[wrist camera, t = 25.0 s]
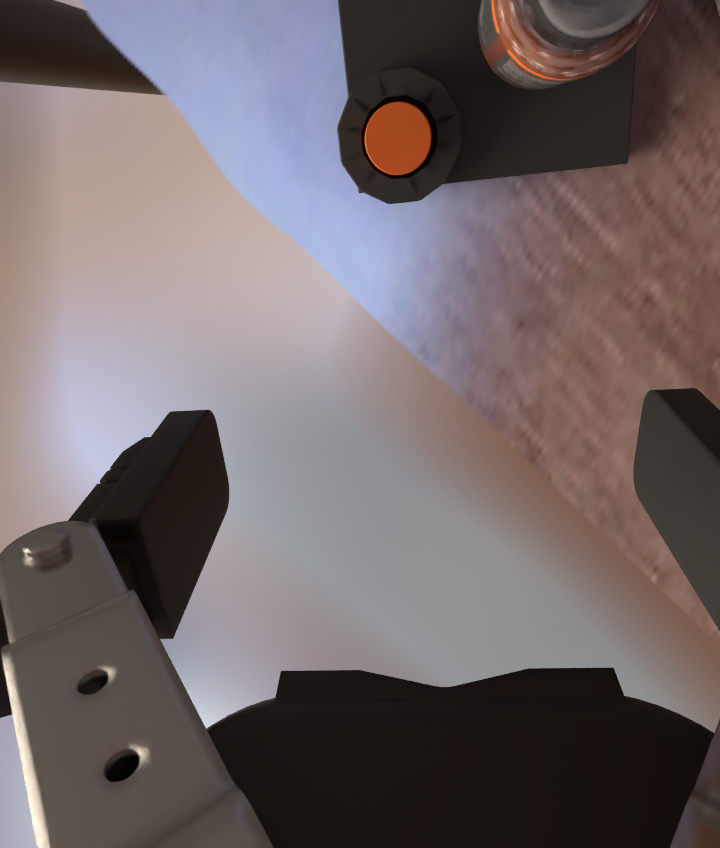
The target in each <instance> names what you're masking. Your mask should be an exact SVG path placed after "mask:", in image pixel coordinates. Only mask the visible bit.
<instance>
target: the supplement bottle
mask: <svg viewBox="0 0 720 848" xmlns="http://www.w3.org/2000/svg"><path fill="white" fill-rule="evenodd" d="M660 1H661V0H481V4H480V9H479V16H478V33H479V40H480V44H481V48H482V51H483V54H484V56H485V58H486V60H487V62H488V64H489V65H490V67H491V68H492V70H493V71H494V72H495V73H496V74H497V75H498V76H499V77H500V78H502V79H503V80H504V81H506V82H508V83H509V84H511V85H513V86H516V87H519V88H523V89H530V90H531V89H532V90H539V89H540V90H542V89H549V88H552V87H555V86H558V85H561V84H564V83H567V82H571V81H574V80H577V79H581V78H584V77H586V76H589V75H591V74H593V73H596V72H598V71H600V70H602V69H604V68H606V67H608V66H609V65H611V64H612V63H614V62H615V61H617V60H618V59H619V58H620V57H622V56H623V55H624V54H625V53H627V52H628V51H629V50H630V49H631V48H632V47H633V46H634V45H635V44H636V42H637V41H638V40H639V39H640V37H641V36H642V34H643V33H644V31H645V30H646V29H647V27H648V26H649V24H650V23H651V21H652V19H653V17H654V16H655V13H656V11H657V9H658V6H659V3H660Z"/></svg>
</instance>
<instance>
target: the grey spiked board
mask: <svg viewBox="0 0 720 848" xmlns="http://www.w3.org/2000/svg"><path fill="white" fill-rule="evenodd" d="M715 2H716V6H717V10H718V13H719V17H720V0H715Z"/></svg>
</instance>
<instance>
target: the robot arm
mask: <svg viewBox="0 0 720 848" xmlns="http://www.w3.org/2000/svg"><path fill="white" fill-rule="evenodd" d="M633 474H634V485H635V490H636V493H637V496H638V498H639V500H640V502H641V503H642V505H643V507H644V508H645V510H646V512H647V513H648V515H649V517H650V518H651V520H652V521H653V523H654V525H655V526H656V528H657V530H658V531H659V533H660V534H661V536H662V538H663V539H664V541H665V543H666V544H667V546H668V548H669V549H670V551H671V552H672V554H673V556H674V557H675V559H676V561H677V562H678V564H679V565H680V567H681V569H682V570H683V572H684V574H685V575H686V577H687V578H688V580H689V582H690V583H691V585H692V587H693V588H694V590H695V592H696V593H697V595H698V596H699V598H700V600H701V601H702V603H703V605H704V606H705V608H706V609H707V611H708V613H709V614H710V616H711V618H712V619H713V621H714V623H715V624H716V626H717V627H718V629H719V631H720V410H719V409H718V408H717V407H716V406H715V405H714V404H712V403H711V402H710V401H709V400H708V399H707V398H706V397H705V396H704V395H703V394H702V393H701V392H700V391H699V390H697V389H695V388H687V389H666V390H650V391H649V392H648V393H647V394H646V396H645V398H644V402H643V407H642V413H641V420H640V427H639V434H638V440H637V447H636V454H635V461H634V471H633ZM228 503H229V483H228V476H227V471H226V467H225V462H224V457H223V452H222V448H221V443H220V438H219V433H218V428H217V424H216V420H215V417H214V415H213V413H212V412H211V411H210V410H195V411H174V412H170V413H169V414H168V415H167V416H166V417H165V419H164V420H163V421H162V423H161V424H160V425H159V427H158V428H157V430H156V431H155V432H154V434H153V435H152V436H151V437H144V438H143V439H141V440H140V441H138V442H137V443H135V444H134V445H132V446H131V447H129V448H128V449H126V450H125V451H123V452H122V453H121V455H120V456H119V457H118V458H117V460H116V461H115V462H114V463H113V465H112V466H111V470H109V471H107V472H106V474H105V475H104V476H103V477H102V479H101V480H100V484H97V485H96V486H95V488H94V489H93V490H92V491H91V492H90V494H89V495H88V496H87V497H86V499H85V500H84V501H83V502H82V504H81V505H80V506H79V508H78V509H77V510H76V511H75V513H74V514H73V515H72V516H71V518H70V519H69V520H68V521H64V522H57V523H53V524H49V525H46V526H43V527H40V528H37V529H35V530H32V531H30V532H29V533H27V534H25V535H23V536H21V537H19V538H18V539H16V540H15V541H13V542H12V543H11V544H9V545H8V546H7V547H6V548H5V549H4V550H3V551H2V553H1V554H0V718H1V717H4V716H8V715H13V720H14V725H15V730H16V736H17V741H18V746H19V752H20V757H21V763H22V768H23V774H24V779H25V784H26V789H27V795H28V800H29V806H30V811H31V817H32V821H33V827H34V832H35V838H36V843H37V848H720V720H719V723H718V725H717V728H716V731H715V733H713V732H711V731H710V730H708V729H706V728H705V727H703V726H702V725H700V724H698V723H696V722H694V721H692V720H690V719H688V718H686V717H684V716H682V715H680V714H678V713H676V712H673V711H671V710H668V709H666V708H663V707H661V706H658V705H655V704H652V703H649V702H645V701H642V700H639V699H636V698H631V697H627V696H624V694H623V692H622V689H621V686H620V684H619V681H618V679H617V676H616V673H615V671H614V668H547V669H546V668H540V669H525V670H521V671H517V672H513V673H509V674H504V675H500V676H496V677H491V678H487V679H483V680H479V681H475V682H470V683H466V684H462V685H458V686H453V687H436V686H431V685H426V684H422V683H417V682H413V681H407V680H403V679H399V678H394V677H389V676H384V675H380V674H375V673H370V672H365V671H361V670H340V671H281V674H280V679H279V684H278V689H277V694H276V698H273V699H269V700H265V701H262V702H259V703H256V704H254V705H251V706H248V707H245V708H244V709H241V710H239V711H237V712H235V713H233V714H231V715H228V716H227V717H225V718H223V719H222V720H220V721H218V722H217V723H215V724H213V725H212V726H210V727H208V728H207V729H206V728H205V726H204V724H203V722H202V720H201V718H200V716H199V714H198V712H197V710H196V708H195V707H194V705H193V703H192V701H191V699H190V697H189V695H188V693H187V691H186V689H185V687H184V685H183V683H182V681H181V679H180V677H179V676H178V674H177V672H176V670H175V668H174V666H173V664H172V662H171V660H170V658H169V656H168V654H167V652H166V650H165V648H164V646H163V645H162V642H161V641H160V639H173V637H174V635H175V633H176V630H177V628H178V625H179V623H180V621H181V618H182V616H183V614H184V611H185V609H186V607H187V604H188V602H189V599H190V597H191V595H192V592H193V590H194V587H195V585H196V583H197V581H198V578H199V576H200V573H201V571H202V569H203V566H204V564H205V562H206V559H207V557H208V554H209V552H210V550H211V547H212V545H213V543H214V540H215V538H216V535H217V533H218V531H219V528H220V526H221V524H222V521H223V519H224V516H225V514H226V511H227V508H228Z"/></svg>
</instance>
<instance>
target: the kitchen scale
mask: <svg viewBox="0 0 720 848" xmlns="http://www.w3.org/2000/svg"><path fill="white" fill-rule="evenodd" d="M480 4H481V0H338V5H339V15H340V24H341V33H342V43H343V52H344V61H345V71H346V80H347V89H348V100H347V102H346V105H345V108H344V110H343V113H342V116H341V118H340V121H339V124H338V128H337V132H338V140H339V149H340V157H341V162H342V165H343V166H344V168H345V169H346V171H347V172H348V174H349V175H350V177H351V178H352V180H353V181H354V183H355V184H356V185H357V187H358V192H359V193H366V194H368V195H370V196H372V197H375V198H377V199H379V200H381V201H383V202H385V203H387V204H388V203H389V204H394V203H404V202H413V201H419V200H422V199H423V198H424V197H426V196H427V195H428V194H430V193H431V192H432V191H434V190H435V189H436V188H438V187H439V186H440V185H442V184H446V183H455V182H464V181H473V180H482V179H491V178H500V177H509V176H519V175H528V174H537V173H546V172H555V171H564V170H573V169H582V168H591V167H600V166H609V165H618V164H626V163H627V162H628V151H629V137H630V123H631V109H632V96H633V82H634V68H635V54H636V44H635V45H634V46H633V47H632V48H631V49H630V50H629V51H628V52H627V53H625V54H624V55H623V56H622V57H620V58H619V59H618V60H617V61H615V62H614V63H612V64H611V65H609V66H608V67H606V68H604V69H602V70H600V71H598V72H596V73H593V74H591V75H589V76H586V77H584V78H581V79H577V80H574V81H571V82H567V83H564V84H561V85H558V86H555V87H552V88H549V89H542V90H540V89H539V90H532V89H531V90H530V89H523V88H519V87H516V86H513V85H511V84H509V83H508V82H506V81H504V80H503V79H502V78H500V77H499V76H498V75H497V74H496V73H495V72H494V71H493V70H492V68H491V67H490V65H489V64H488V62H487V60H486V58H485V56H484V54H483V51H482V48H481V44H480V40H479V33H478V16H479V9H480ZM398 101H400V102H407V103H410V104H412V105H414V106H416V107H417V108H418V109H420V110H421V111H422V112H423V113H424V115H425V116H426V118H427V120H428V122H429V125H430V128H431V135H432V140H431V147H430V150H429V153H428V155H427V157H426V159H425V160H424V162H423V163H422V164H421V165H420V166H419V167H418V168H417V169H415V170H414V171H412V172H410V173H407V174H403V175H392V174H388V173H385V172H383V171H381V170H380V169H379V168H377V167H376V166H375V165H374V164H373V162H372V161H371V160H370V158H369V156H368V154H367V151H366V147H365V132H366V128H367V125H368V122H369V120H370V119H371V117H372V115H373V114H374V113H375V112H376V111H377V110H378V109H379V108H381V107H382V106H384V105H386V104H388V103H391V102H398Z"/></svg>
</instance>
